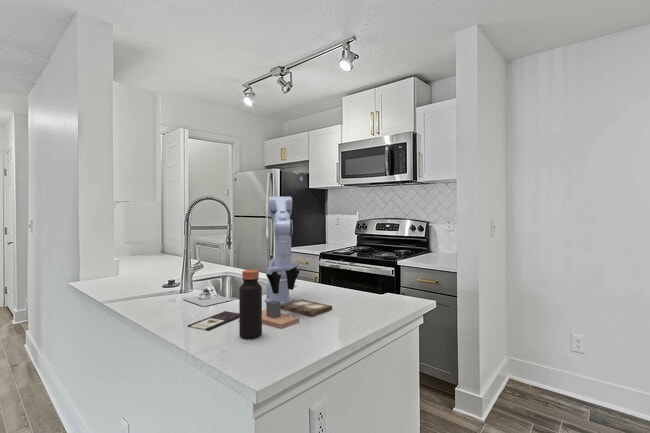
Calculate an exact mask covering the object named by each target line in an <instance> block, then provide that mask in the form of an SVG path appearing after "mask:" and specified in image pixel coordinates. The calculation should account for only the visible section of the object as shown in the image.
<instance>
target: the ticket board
mask: <svg viewBox="0 0 650 433" xmlns="http://www.w3.org/2000/svg"><path fill="white" fill-rule="evenodd" d="M282 310H283V311H286V312H290V313H295V314H299V315H302V316H306V317H310V318H313V317H316V316H319V315H322V314H324V313H327V312H330V311H332V310H333V305H330V304H326V303H321V302H316V301H312V300H308V299H304V298H303V299H301V298H300V299H297V300H294V301H291V302H288V303H285V304H281V311H282Z"/></svg>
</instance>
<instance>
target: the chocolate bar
mask: <svg viewBox="0 0 650 433" xmlns="http://www.w3.org/2000/svg"><path fill="white" fill-rule="evenodd" d="M238 319H239V312H234V311H227V310H224V311H222V312H219V313H217V314H213V315H211V316H209V317H205V318H204V319H201V320H198V321H195V322H193V323H192V322H191V324H187V327H188V328H192V329H196V330H202V331H206V332H209V331H212V330H214V329H216V328H219V327H221V326H224V325H225V324H226V325H227V324H228V323H231V322H233V321H236V320H238Z"/></svg>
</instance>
